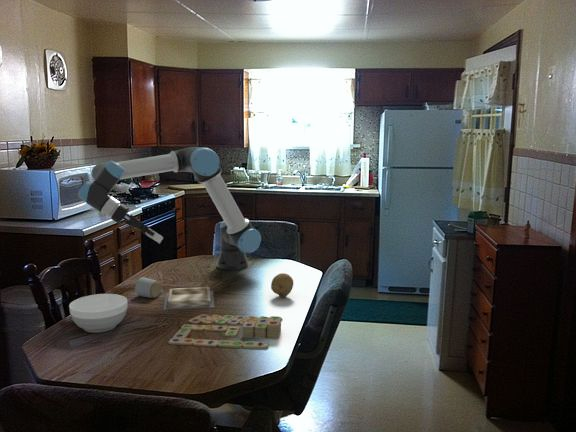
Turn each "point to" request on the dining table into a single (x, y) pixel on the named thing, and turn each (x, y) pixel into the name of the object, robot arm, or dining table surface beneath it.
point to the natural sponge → (282, 284)
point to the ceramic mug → (148, 287)
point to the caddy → (189, 297)
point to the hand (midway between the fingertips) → (161, 240)
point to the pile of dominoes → (231, 331)
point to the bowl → (98, 311)
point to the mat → (190, 307)
